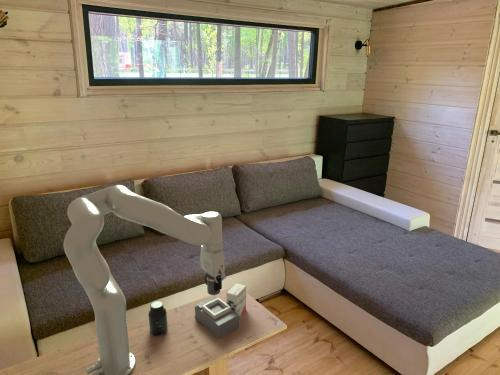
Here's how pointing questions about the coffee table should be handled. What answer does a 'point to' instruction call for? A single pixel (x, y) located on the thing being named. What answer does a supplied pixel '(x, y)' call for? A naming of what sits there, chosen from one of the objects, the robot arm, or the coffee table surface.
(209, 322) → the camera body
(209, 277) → the lens
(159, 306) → the supplement bottle
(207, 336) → the coffee table surface
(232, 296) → the ink box
